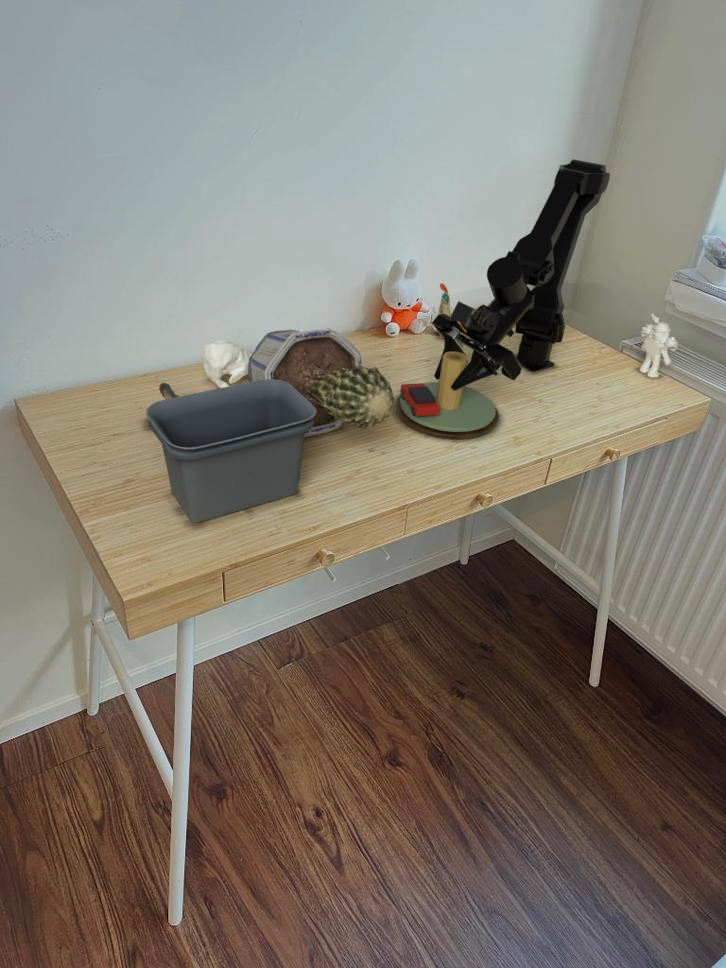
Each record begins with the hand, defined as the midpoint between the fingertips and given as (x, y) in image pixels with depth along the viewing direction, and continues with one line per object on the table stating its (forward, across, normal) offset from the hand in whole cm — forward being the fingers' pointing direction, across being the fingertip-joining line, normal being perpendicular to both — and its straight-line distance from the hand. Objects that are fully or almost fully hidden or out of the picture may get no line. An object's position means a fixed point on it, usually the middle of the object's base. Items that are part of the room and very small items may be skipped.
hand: (443, 383), depth 133 cm
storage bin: (+35, +4, -25) cm, 43 cm away
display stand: (+3, 0, +6) cm, 7 cm away
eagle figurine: (+35, -17, -24) cm, 46 cm away
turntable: (+2, 0, +5) cm, 6 cm away
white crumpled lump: (+24, -27, -14) cm, 38 cm away
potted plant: (+21, -4, -11) cm, 24 cm away
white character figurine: (-32, +6, +40) cm, 52 cm away
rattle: (-13, -26, +22) cm, 36 cm away
